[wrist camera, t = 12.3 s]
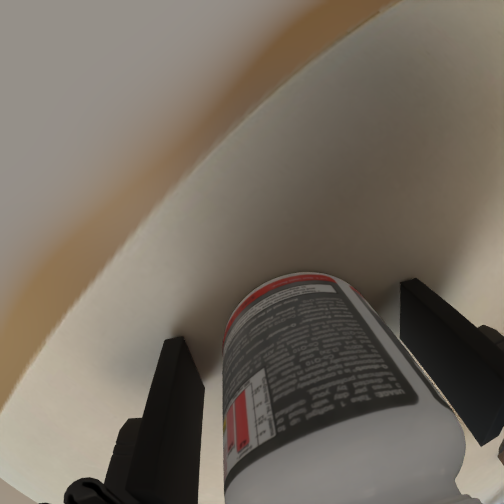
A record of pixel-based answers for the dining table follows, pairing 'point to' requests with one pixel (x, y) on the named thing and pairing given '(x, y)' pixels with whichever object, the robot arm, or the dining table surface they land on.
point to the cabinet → (501, 457)
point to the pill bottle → (330, 404)
